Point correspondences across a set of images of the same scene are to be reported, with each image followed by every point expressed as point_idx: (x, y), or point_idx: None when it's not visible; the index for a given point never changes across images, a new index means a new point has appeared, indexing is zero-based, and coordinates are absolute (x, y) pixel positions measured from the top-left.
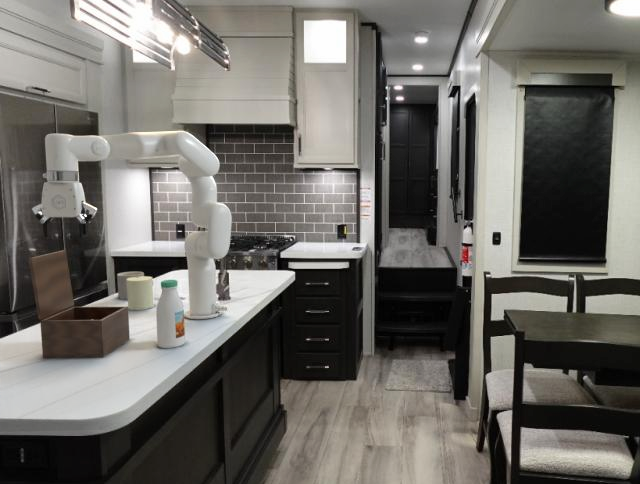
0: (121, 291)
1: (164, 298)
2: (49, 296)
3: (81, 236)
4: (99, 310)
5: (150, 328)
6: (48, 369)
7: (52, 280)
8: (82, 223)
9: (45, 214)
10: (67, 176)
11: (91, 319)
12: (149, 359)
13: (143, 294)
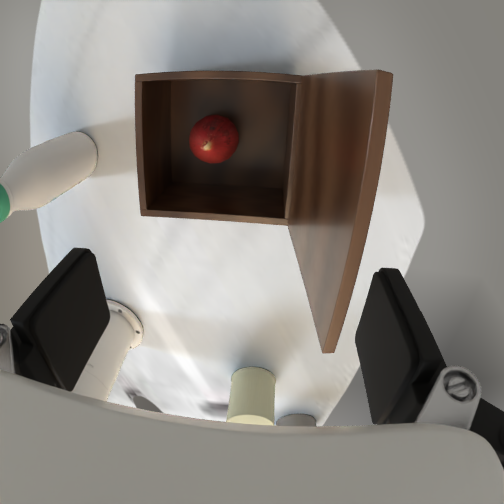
0: (307, 425)
1: (14, 168)
2: (309, 133)
3: (77, 249)
4: (215, 210)
5: (165, 258)
6: (246, 14)
7: (317, 177)
8: (6, 326)
9: (453, 447)
10: None
11: (207, 148)
12: (81, 72)
13: (238, 392)
